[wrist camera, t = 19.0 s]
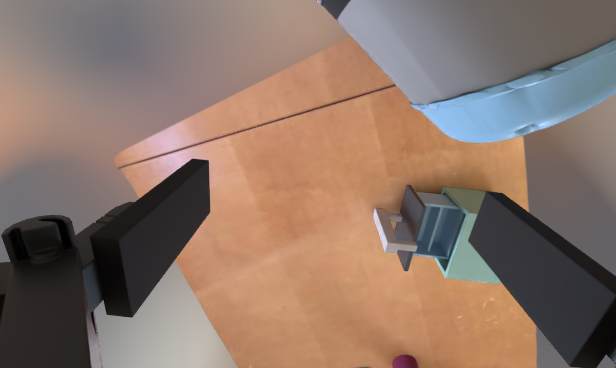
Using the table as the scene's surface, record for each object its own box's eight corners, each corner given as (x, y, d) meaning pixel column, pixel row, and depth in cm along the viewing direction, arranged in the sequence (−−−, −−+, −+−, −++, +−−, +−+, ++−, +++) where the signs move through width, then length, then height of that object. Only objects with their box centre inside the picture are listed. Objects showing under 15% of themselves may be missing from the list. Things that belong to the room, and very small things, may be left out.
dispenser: (425, 243, 52) (445, 278, 43) (443, 186, 47) (469, 213, 39) (470, 248, 52) (499, 284, 43) (492, 191, 47) (528, 219, 39)
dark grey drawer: (367, 238, 51) (378, 279, 41) (380, 181, 47) (394, 212, 37) (437, 246, 51) (463, 288, 41) (455, 189, 47) (489, 222, 37)
